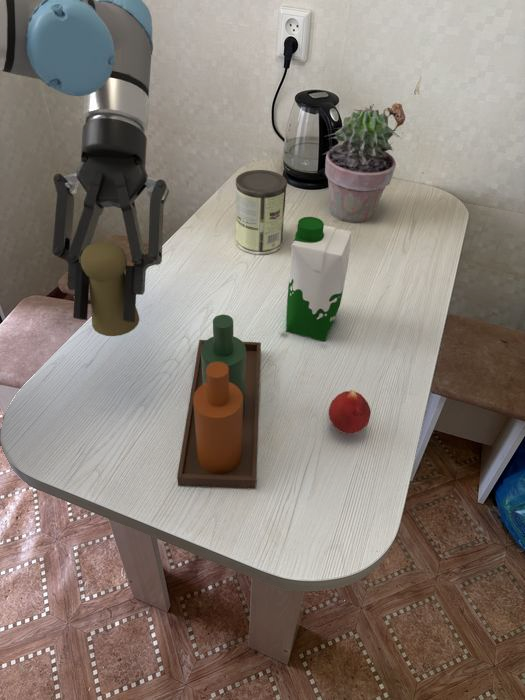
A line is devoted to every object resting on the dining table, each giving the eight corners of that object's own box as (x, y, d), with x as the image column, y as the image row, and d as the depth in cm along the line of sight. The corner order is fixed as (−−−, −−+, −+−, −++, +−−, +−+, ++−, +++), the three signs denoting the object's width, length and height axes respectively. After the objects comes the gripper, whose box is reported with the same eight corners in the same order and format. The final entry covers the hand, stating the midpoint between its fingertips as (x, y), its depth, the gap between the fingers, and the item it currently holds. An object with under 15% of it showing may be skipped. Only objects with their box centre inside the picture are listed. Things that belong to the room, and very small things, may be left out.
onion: (368, 419, 76) (378, 383, 70) (361, 449, 72) (372, 413, 66) (330, 409, 77) (338, 372, 71) (321, 438, 73) (329, 402, 67)
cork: (107, 343, 63) (90, 269, 55) (83, 318, 66) (64, 245, 58) (148, 322, 66) (138, 250, 58) (123, 300, 69) (111, 229, 61)
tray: (178, 486, 66) (176, 477, 65) (199, 348, 85) (199, 339, 84) (255, 489, 66) (256, 480, 65) (260, 351, 85) (260, 342, 84)
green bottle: (202, 422, 73) (196, 335, 61) (206, 391, 77) (201, 304, 66) (243, 424, 73) (245, 338, 61) (245, 393, 78) (247, 307, 66)
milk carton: (293, 304, 95) (303, 207, 81) (340, 316, 93) (359, 218, 79) (279, 334, 89) (288, 233, 75) (329, 346, 87) (347, 246, 73)
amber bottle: (195, 473, 67) (187, 387, 55) (200, 436, 71) (194, 350, 60) (240, 475, 67) (242, 390, 55) (242, 438, 71) (244, 352, 60)
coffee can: (249, 225, 115) (251, 165, 105) (290, 238, 112) (295, 177, 102) (226, 246, 108) (225, 183, 99) (268, 260, 105) (272, 197, 95)
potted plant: (294, 201, 124) (304, 93, 107) (363, 190, 130) (383, 85, 113) (329, 238, 112) (347, 123, 95) (402, 224, 118) (431, 113, 101)
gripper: (193, 147, 65) (184, 326, 65) (52, 139, 65) (41, 319, 64) (186, 119, 58) (175, 321, 57) (26, 110, 58) (14, 313, 57)
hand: (104, 319), depth 61 cm, fingers closed on cork, 5 cm apart
